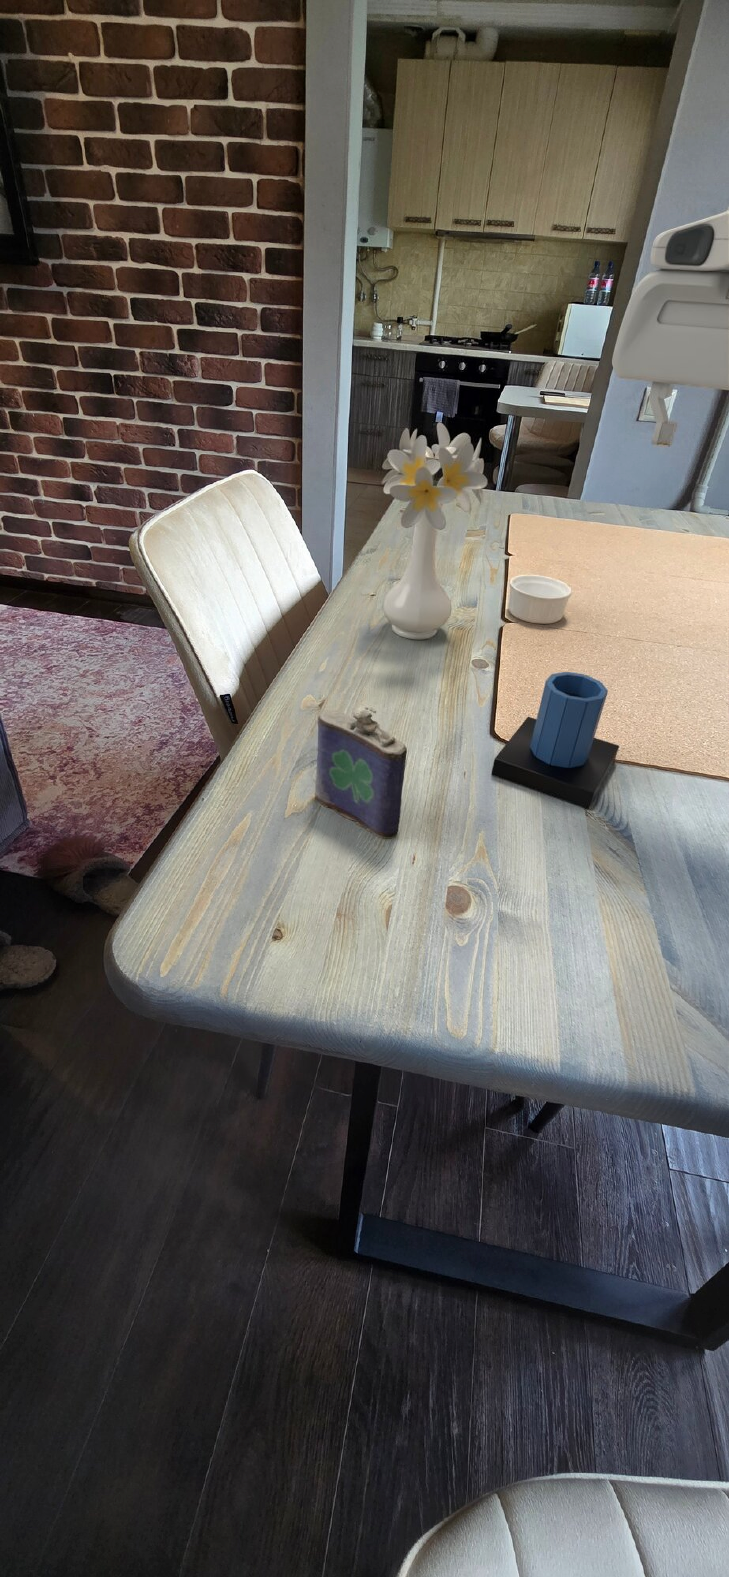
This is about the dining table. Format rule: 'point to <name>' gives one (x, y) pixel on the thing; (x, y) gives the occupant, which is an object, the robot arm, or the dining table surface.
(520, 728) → the black base with post
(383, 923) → the dining table surface
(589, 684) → the sleeve
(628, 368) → the robot arm
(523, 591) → the ramekin
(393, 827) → the flask
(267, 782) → the dining table surface
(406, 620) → the flower vase
